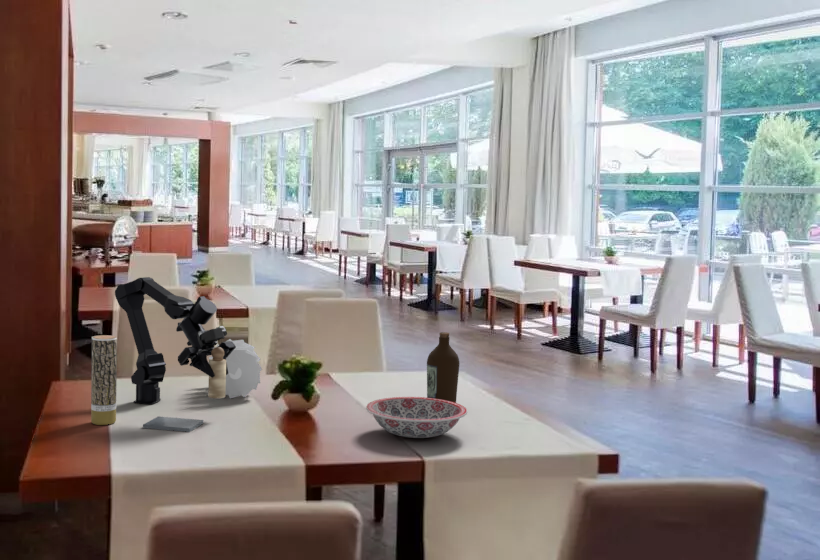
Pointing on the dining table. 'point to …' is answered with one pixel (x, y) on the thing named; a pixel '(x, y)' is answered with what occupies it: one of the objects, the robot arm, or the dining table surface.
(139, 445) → the dining table surface
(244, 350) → the spiral staircase
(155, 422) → the slate board
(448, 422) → the ceramic bowl
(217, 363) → the pepper mill
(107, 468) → the dining table surface
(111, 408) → the paper tube
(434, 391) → the olive oil
